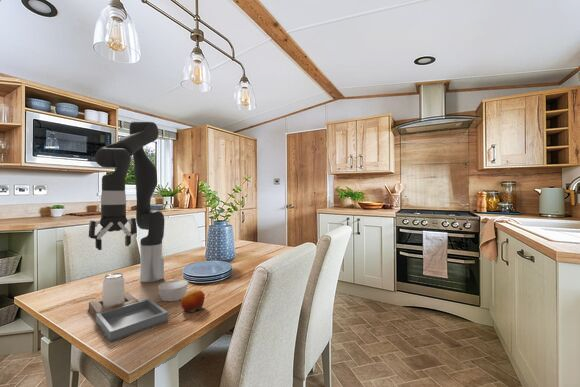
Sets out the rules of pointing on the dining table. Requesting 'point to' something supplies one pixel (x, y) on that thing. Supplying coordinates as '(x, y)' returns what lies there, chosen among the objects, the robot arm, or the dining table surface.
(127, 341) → the dining table surface
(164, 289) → the ramekin
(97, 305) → the square wooden frame
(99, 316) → the tray
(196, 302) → the fruit
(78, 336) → the dining table surface
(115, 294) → the can
